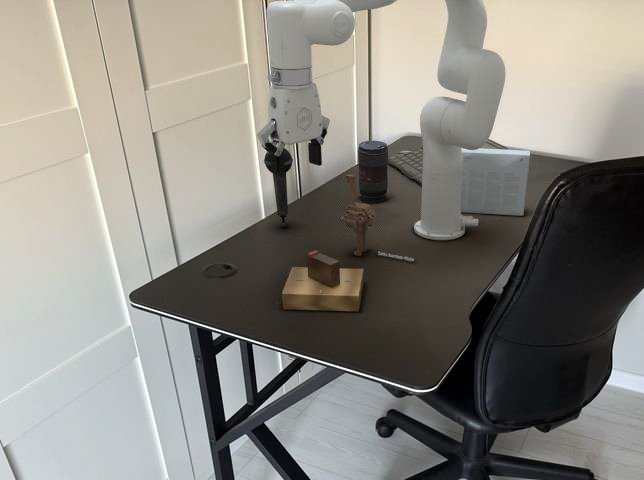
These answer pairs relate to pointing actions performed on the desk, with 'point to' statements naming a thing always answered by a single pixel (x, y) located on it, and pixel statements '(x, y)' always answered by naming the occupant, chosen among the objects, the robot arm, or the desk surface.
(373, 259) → the desk surface
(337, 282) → the arm
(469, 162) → the skincare box
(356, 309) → the wooden dial board
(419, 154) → the computer keyboard
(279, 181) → the microphone
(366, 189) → the camera lens
